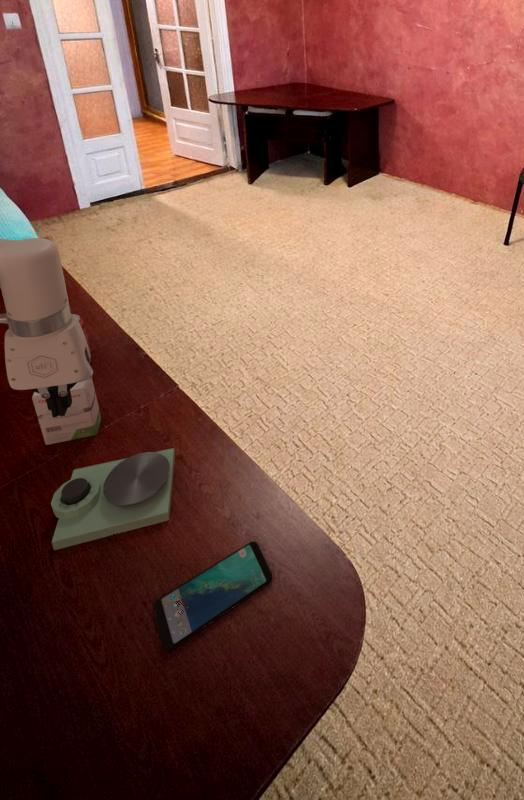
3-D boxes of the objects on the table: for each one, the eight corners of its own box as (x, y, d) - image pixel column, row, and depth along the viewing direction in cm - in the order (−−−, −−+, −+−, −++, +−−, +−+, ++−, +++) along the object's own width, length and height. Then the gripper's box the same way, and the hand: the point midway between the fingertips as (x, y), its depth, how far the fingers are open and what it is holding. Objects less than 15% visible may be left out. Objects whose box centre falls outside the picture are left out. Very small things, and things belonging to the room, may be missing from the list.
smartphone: (151, 602, 67) (255, 538, 76) (151, 605, 67) (255, 541, 76) (164, 653, 62) (274, 578, 70) (165, 656, 62) (274, 581, 71)
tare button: (60, 507, 76) (58, 500, 76) (66, 487, 79) (64, 481, 79) (86, 501, 77) (84, 494, 77) (91, 482, 81) (89, 475, 80)
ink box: (102, 417, 97) (92, 370, 93) (96, 436, 93) (86, 388, 88) (52, 426, 94) (39, 378, 90) (43, 446, 90) (30, 397, 86)
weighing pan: (97, 514, 75) (97, 512, 75) (109, 461, 84) (109, 459, 84) (167, 496, 78) (167, 495, 78) (172, 447, 87) (172, 446, 87)
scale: (44, 553, 73) (39, 537, 71) (67, 479, 84) (63, 464, 83) (169, 520, 78) (166, 505, 77) (175, 455, 90) (173, 441, 89)
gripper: (-31, 338, 68) (-3, 437, 75) (90, 325, 73) (107, 419, 79) (-8, 309, 75) (17, 402, 81) (102, 299, 79) (117, 387, 86)
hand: (61, 410), depth 80 cm, fingers closed
